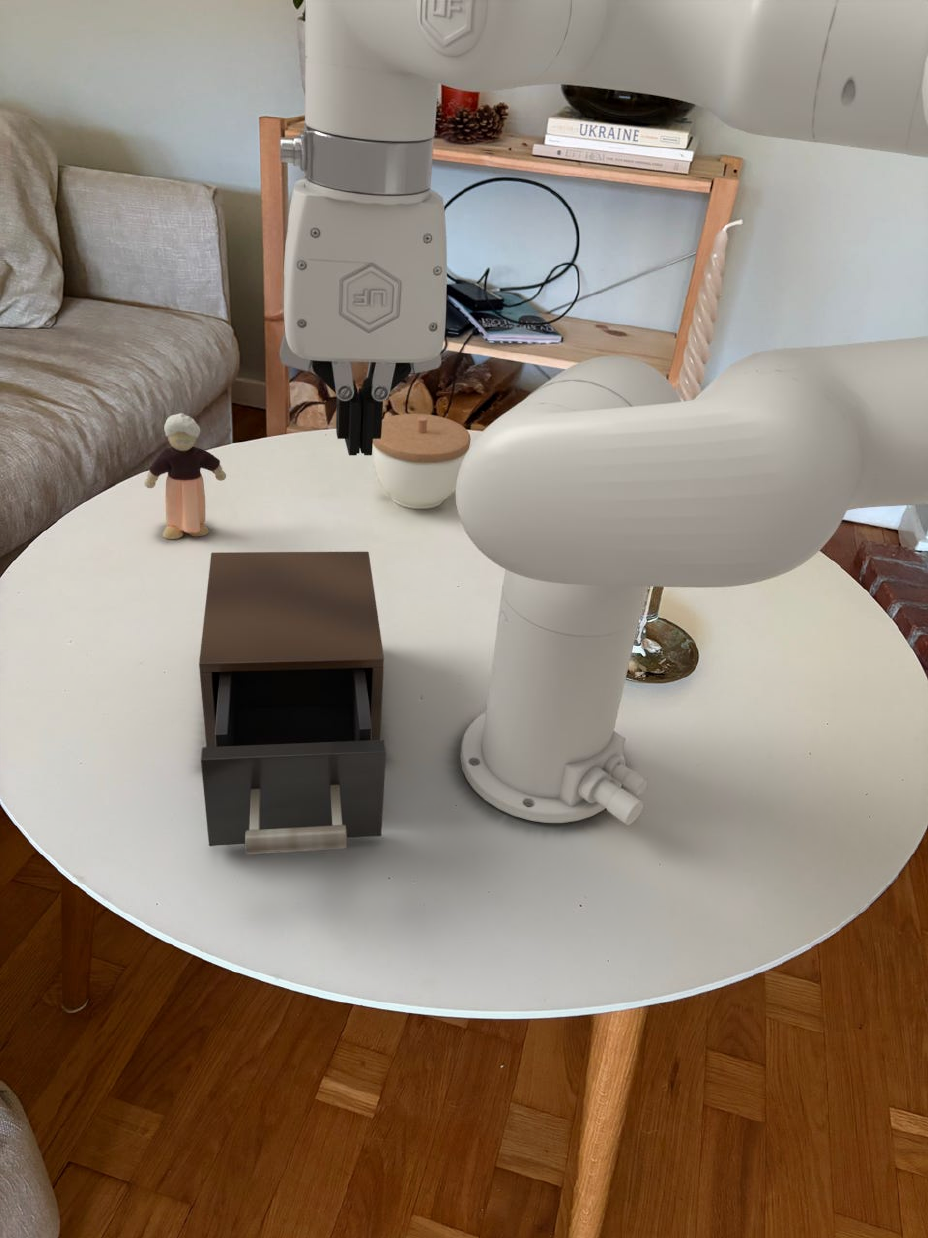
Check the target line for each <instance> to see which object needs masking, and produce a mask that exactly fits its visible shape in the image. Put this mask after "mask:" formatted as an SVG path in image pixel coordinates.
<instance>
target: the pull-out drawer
mask: <svg viewBox="0 0 928 1238" xmlns="http://www.w3.org/2000/svg"><path fill="white" fill-rule="evenodd" d="M371 735H372V726H371V718H370V709H369V701H368V692H367V683H366V675H365V668H341V669H305V670H269V671H233V672H220V677H219V690H218V702H217V714H216V727H215V742H216V747H206V746H202V748H201V754H200V767H201V777H202V788H203V798H204V808H205V816H206V817H205V818H206V830H207V840H208V846H209V847H217V846H220V847H221V846H233V845H234V846H235V845H244V848H245V849H244V850H245V854H246V855H258V854H272V853H273V854H275V853H291V852H292V853H293V852H307V851H322V850H323V851H324V850H340V849H347V847H348V839H353V838H354V839H355V838H371V837H381V836H382V831H383V811H384V795H385V779H386V778H385V777H386V776H385V775H386V761H387V760H386V756H387V749H386V743H385V740H384V739H380V740H371Z"/></svg>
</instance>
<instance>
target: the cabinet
mask: <svg viewBox="0 0 928 1238" xmlns="http://www.w3.org/2000/svg"><path fill="white" fill-rule="evenodd" d="M209 560H210V561H209V569H208V579H207V588H206V597H205V605H204V606H205V607H204V615H203V623H202V634H201V642H200V652H199V659H198V668H199V681H200V692H201V702H202V704H201V705H202V713H203V714H202V715H203V725H204V737H205V747H216V742H215V727H216V714H217V702H218V690H219V677H220V672H233V671H269V670H305V669H341V668H365V675H366V683H367V692H368V701H369V709H370V718H371V726H372V735H371V740H381V730H382V713H383V712H382V710H383V693H384V692H383V689H384V673H385V671H384V669H385V667H384V666H385V655H384V648H383V642H382V634H381V628H380V620H379V614H378V608H377V601H376V600H377V599H376V594H375V587H374V586H375V585H374V580H373V579H374V578H373V572H372V565H371V559H370V553H369V551H248V552H247V551H242V552H241V551H239V552H238V551H237V552H236V551H235V552H228V551H227V552H223V551H221V552H214V551H213V552H211V553H210V559H209Z"/></svg>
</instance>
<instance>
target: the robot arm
mask: <svg viewBox="0 0 928 1238" xmlns="http://www.w3.org/2000/svg"><path fill="white" fill-rule="evenodd" d="M304 15H305V16H304V17H305V18H304V19H305V20H304V21H305V25H304V27H305V37H304V38H305V39H304V41H305V43H304V44H305V46H304V47H305V50H304V51H305V53H304V58H305V60H304V61H305V65H304V66H305V67H304V68H305V69H304V71H305V72H304V74H305V75H304V77H305V78H304V80H305V81H304V123H303V131H302V130H300V131H299V135H294V134H293V135H292V137H286V136H280V137H279V157H280V163H287V164H292V165H293V166H294V167H295V166H296V167H299V168H300V172H304V178H301V179H299V180H297V181H295V182H294V184H293V185H294V186H293V190H292V194H291V199H290V205H289V211H288V218H287V219H288V223H287V230H286V237H285V245H284V246H285V248H284V264H283V281H282V282H283V285H282V290H283V292H282V312H283V314H282V315H283V323H284V330H283V336H282V339H281V342H280V343H281V344H280V348H279V352H278V353H279V354H278V355H279V360H280V363H281V364H282V366H284V367H288V368H291V369H295V370H298V371H303V372H306V373H308V372H310V373H314V374H315V375H316V376H317V377H318V378H319V379H320V380H321V381H322V382H323V383H324V384H325V385H326V386H327V387H328V388H329V389H330V390H332V392H333V393H335V396H336V409H335V410H336V412H335V413H336V414H335V415H336V417H335V432H336V433H335V434H336V438H337V440H344V441H345V446H346V450H347V454H348V456H357V455H359V454H360V453H361V454H363V455H364V456H372V448H373V439H381V433H382V419H383V414H384V412H383V411H384V402H385V401H386V400H387V399H388V398H389V396H390V393H391V392H392V391H393V390H394V389H395V388H396V387H397V386H399V384H401V383H402V382H403V381H404V380H405V379H406V378H407V377H409V375H411V374H419V373H424V372H429V371H432V370H433V371H434V370H437V369H439V368H440V367H441V365H442V364H443V363H442V362H443V361H442V354H441V353H442V350H443V347H444V342H445V335H446V319H447V289H448V288H447V285H448V284H447V283H448V249H447V247H448V245H447V226H446V212H445V203H444V198H443V196H442V195H441V194H439V192H437V191H435V190H434V189H431V188H432V187H431V183H432V173H433V172H432V171H433V158H434V145H435V132H436V120H437V107H438V106H437V105H438V93H439V92H438V91H439V85H442V86H444V87H448V88H451V89H455V90H459V91H463V92H464V91H465V92H469V93H470V92H471V93H488V92H498V91H505V90H512V89H517V88H523V87H532V86H543V85H566V86H576V87H577V86H579V87H589V88H590V87H591V88H597V89H606V90H613V91H623V92H631V93H636V94H637V93H638V94H645V95H652V96H657V97H658V96H659V97H663V98H669V99H673V100H678V101H682V102H686V103H688V104H689V103H690V104H693V105H695V106H698V107H700V108H702V109H705V110H706V111H708V112H710V113H711V114H713V116H715V117H716V118H717V119H718V120H720V121H721V122H722V123H723V124H724V125H726V126H728V127H730V128H732V129H735V130H738V131H740V132H741V131H742V132H745V133H746V134H747V133H748V134H751V135H755V136H761V137H770V138H775V139H776V138H779V139H785V140H786V139H787V140H792V141H793V140H794V141H802V142H809V143H820V144H827V145H834V146H842V147H849V148H858V149H865V150H872V151H878V152H879V151H880V152H887V153H895V154H901V155H907V156H913V157H921V158H928V0H305V14H304ZM352 363H368V367H367V372H366V377H365V379H363V381H362V384H360V387H359V388H358V387H357V384H356V381H355V380H354V379H353V370H352ZM455 504H456V510H457V515H458V517H459V520H460V523H461V526H462V527H463V530H464V532H465V533H466V535H467V537H468V538H469V540H470V541H471V542H472V544H473V545H474V546H475V548H476V549H478V551H479V552H481V553H482V554H483V555H484V556H485V557H486V558H487V559H489V560H490V561H491V562H493V563H494V564H496V565H498V566H499V567H500V568H503V569H504V574H503V575H504V576H503V584H502V587H501V595H500V603H499V610H498V618H497V625H496V631H495V632H496V633H495V640H494V648H493V655H492V664H491V671H490V679H489V685H488V686H489V687H488V693H487V702H486V710H485V711H484V712H482V713H481V714H480V715H478V716H477V717H476V718H475V719H473V721H472V722H471V723H470V724H469V725H468V727H467V728H466V730H465V732H464V734H463V737H462V740H461V745H460V755H459V756H460V765H461V770H462V772H463V774H464V777H465V779H466V781H467V782H468V784H469V785H470V786H471V787H472V789H473V790H474V792H475V793H477V794H478V795H479V796H480V797H481V798H482V799H483V800H484V801H486V802H487V803H489V804H491V806H493V807H495V808H496V809H498V810H499V811H502V812H504V813H507V814H508V815H511V816H513V817H517V818H520V819H524V820H527V821H531V822H537V823H544V824H565V823H570V822H571V823H573V822H579V821H581V820H585V819H587V818H591V817H593V816H595V815H597V814H599V813H601V812H603V811H604V810H605V809H606V811H607V812H608V813H609V814H611V815H612V816H613V817H615V818H616V819H618V820H619V821H621V822H622V823H624V824H625V825H626V826H630V825H632V824H634V822H635V821H636V820H637V819H638V818H639V816H640V815H641V813H642V811H643V809H644V802H643V801H642V800H640V799H639V798H637V797H638V796H641V795H642V794H643V793H644V792H645V790H646V789H647V788H648V784H649V780H648V779H647V778H645V777H644V776H642V775H641V774H639V773H638V772H637V771H635V770H634V769H630V768H629V767H628V766H626V758H625V755H624V753H623V750H624V746H625V743H626V738H625V737H624V736H623V735H621V734H619V733H618V732H616V731H615V727H616V722H617V717H618V713H619V709H620V706H621V701H622V696H623V693H624V688H625V684H626V680H627V675H628V671H629V666H630V662H631V657H632V654H633V649H634V645H635V641H636V637H637V631H638V628H639V624H640V619H641V615H642V613H643V609H644V605H645V601H646V596H647V593H648V588H649V587H653V588H655V587H658V588H661V587H662V588H733V587H739V586H745V585H747V586H748V585H752V584H756V583H760V582H764V581H767V580H770V579H774V578H777V577H779V576H782V575H785V574H787V573H789V572H791V571H793V570H795V569H796V568H798V567H800V566H802V565H804V564H805V563H806V562H807V561H809V560H811V559H812V558H813V557H814V556H816V555H817V554H818V553H819V552H820V551H821V550H822V549H823V548H824V546H826V544H828V542H829V541H830V539H831V538H832V537H833V536H834V535H835V534H836V531H837V530H838V529H839V527H840V525H841V523H842V521H843V520H844V518H845V516H846V513H847V512H848V511H851V510H857V509H867V508H879V507H881V508H883V507H898V506H899V507H900V506H916V505H917V506H920V505H928V335H925V336H917V337H908V338H898V339H897V338H896V339H887V340H877V341H876V340H875V341H865V342H857V343H848V344H847V343H846V344H845V343H844V344H834V345H824V346H823V345H822V346H821V345H820V346H807V347H806V346H804V347H803V346H802V347H785V348H775V349H770V350H769V349H768V350H764V351H763V350H762V351H759V352H758V351H757V352H755V353H752V354H749V355H747V356H745V357H743V358H740V359H739V360H737V361H735V362H733V363H732V364H731V365H729V366H728V367H727V368H725V369H724V370H723V371H722V372H720V373H719V375H717V377H715V378H714V379H713V380H712V381H711V382H710V383H709V384H708V385H707V386H705V387H704V388H703V390H701V392H699V394H698V395H696V397H695V398H694V399H691V400H684V401H682V400H681V398H680V396H679V394H678V392H677V390H676V389H675V387H674V386H673V385H672V384H671V382H670V381H669V380H668V379H667V377H666V376H664V375H663V374H662V373H661V372H660V371H659V370H658V369H656V368H654V367H653V366H652V365H650V364H648V363H646V362H644V361H642V360H639V359H636V358H633V357H628V356H623V355H603V356H598V357H592V358H589V359H586V360H583V361H580V362H578V363H576V364H574V365H572V366H569V367H568V368H566V369H564V370H563V371H561V372H559V373H558V374H556V375H555V376H553V377H552V378H550V379H549V380H548V381H546V382H545V383H544V384H542V385H540V386H539V387H537V389H535V390H533V391H532V392H531V393H529V394H528V395H527V396H526V397H525V398H524V399H523V400H522V401H520V402H519V403H517V404H516V405H514V406H513V407H512V408H510V409H509V410H507V411H506V412H505V413H502V414H501V415H500V416H498V418H496V419H495V420H493V422H491V423H490V424H489V425H488V426H487V427H486V428H484V430H482V431H481V433H479V435H478V436H477V437H476V438H475V439H474V441H473V442H472V443H471V444H470V447H469V449H468V451H467V453H466V455H465V457H464V459H463V461H462V464H461V466H460V469H459V473H458V478H457V483H456V490H455ZM622 786H623V787H624V788H626V789H628V791H630V792H631V793H630V792H628V791H627V790H625V789H624V788H623V787H622ZM632 793H633V794H635V795H636V796H637V797H636V796H634V795H633V794H632Z"/></svg>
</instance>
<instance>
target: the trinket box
mask: <svg viewBox="0 0 928 1238" xmlns="http://www.w3.org/2000/svg"><path fill="white" fill-rule="evenodd" d="M471 440H472V439H471V435H470V432H469V431H468V430H467V428H466V427H464V426H463V425H462V424H460V423H458V422H456V421H454V420H452V419H450V418H446V417H443V416H440V415H434V414H429V413H428V414H427V413H401V414H395V415H391V416H387V417H385V418H382V433H381V439H373V448H372V455H371V456H372V465H373V470H374V474H375V476H376V479H377V481H378V483H379V485H380V486H381V488H382V490H383V491H384V492H385V493H387V495H388V496H390V499H391V500H392V502H394V503H395V504H396V505H398V506H401V507H403V508H407V509H412V510H429V509H433V508H437V507H439V506H440V505H442V504H443V502H444V501H445V500H446V499H447V498H449V497H450V496H452V495H453V493H454V492H456V483H457V478H458V473H459V469H460V466H461V464H462V461H463V459H464V457H465V455H466V453H467V451H468V450H469V448H470V446H471Z"/></svg>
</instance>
